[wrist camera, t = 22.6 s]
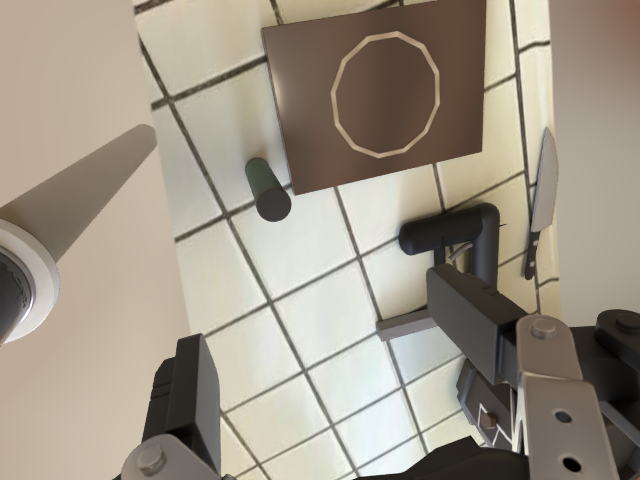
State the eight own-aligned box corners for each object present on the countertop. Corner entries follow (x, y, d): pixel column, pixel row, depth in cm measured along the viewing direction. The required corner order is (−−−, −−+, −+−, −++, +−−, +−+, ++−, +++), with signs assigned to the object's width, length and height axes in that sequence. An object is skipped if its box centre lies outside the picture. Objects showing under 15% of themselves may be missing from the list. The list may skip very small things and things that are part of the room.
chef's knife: (566, 121, 41) (544, 125, 40) (575, 122, 40) (553, 126, 39) (539, 273, 49) (521, 278, 48) (547, 277, 48) (528, 283, 47)
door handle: (388, 382, 46) (507, 347, 48) (370, 238, 38) (516, 202, 39) (379, 363, 49) (491, 331, 51) (360, 226, 41) (496, 193, 42)
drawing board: (292, 193, 36) (295, 196, 35) (260, 29, 30) (261, 27, 29) (476, 150, 39) (482, 152, 38) (479, -6, 33) (487, -8, 32)
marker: (247, 184, 35) (261, 225, 25) (241, 160, 34) (253, 193, 24) (272, 179, 35) (294, 217, 25) (266, 154, 34) (287, 185, 24)
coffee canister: (468, 318, 49) (570, 414, 35) (573, 315, 54) (698, 398, 40) (432, 421, 55) (507, 538, 41) (529, 410, 60) (624, 510, 46)
